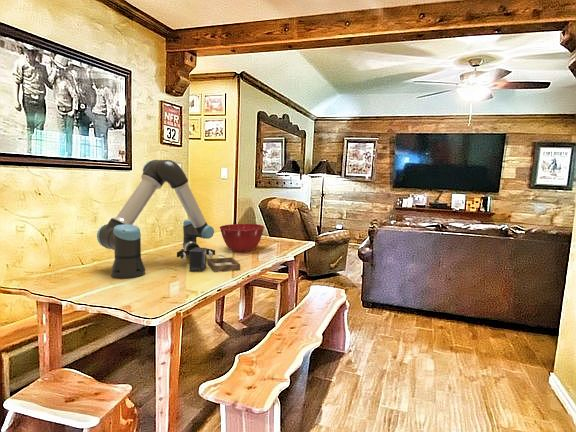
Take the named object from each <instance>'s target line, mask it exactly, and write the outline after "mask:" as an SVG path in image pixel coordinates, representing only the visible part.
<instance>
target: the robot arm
mask: <svg viewBox="0 0 576 432" xmlns="http://www.w3.org/2000/svg"><path fill="white" fill-rule="evenodd" d="M140 177H141V178H140V179H141V181H140V182H139V184H138V186H137V187H136V188H135V190H134V191H133V193H132V194H131V196H129V198H128V200H127V201H126V202H125V204H124V205H123V207H122V208H121V210H120V211H119V212H118V214H117V215H116V216H115V217H111V218H110V219H109V221H108V223H107V224H104V225H102V226H100V227H99V228H98V230H97V233H96V238H97V239H96V240H97V243H99V245H100V246H102V247H103V248H105V249H107V250H112V251H113V250H114V254H113V255H114V260H113V264H112V266H111V270H110V277H112V278H115V279H131V278H137V277H141V276H143V275H146V268H145V264H144V261H143V260H142V251H141V250H142V247H141V246H142V245H141V243H142V242H141V241H142V240H141V236H142V234H141V229H140V227H139V226H137V225H134V223H135V222H136V220H137V219H138V217H139V216H140V214H141V213H142V212H143V210H144V208H145V207H146V206H147V204H148V203H149V201H150V200H151V198H152V196H153V195H154V193H155V192H156V191H157V190H158V189H161V188H162V187H163V186H164V184H165V183H167V184H169V186H170V188H171V189H173V190H174V192H175V194H176V195H177V197H178V199H179V201H180V204H181V205H182V208H183V209H184V211H185V213H186V215H187V217H188V219H184V220H183V226H182V229H183V230H182V231H183V238H182V239H183V242H182V249H180V250H179V251H177V252H176V258H180V259H181V260H182V259H183V261H186V260H187V256H189V257H190V250H192V249H193V248H195V247H200V245H198V241H197V238H198V239H199V238H200V239H206V240H207V239H209V240H210V239H211V238H212V237H214V234H215V230H214V227H213V226H211V225H208V222H207V221H206V218H205V216H204V214H203V212H202V210H201V208H200V206H199V204H198V202H197V200H196V198H195V196H194V194H193V192H192V190H191V188H190V185H189V179H188V177H187V175H186V173H185V172H184V170H183V169H182V167H181V166H180V165H179V164H178V163H177V162H176V161H174V160H172V159H151V160H149V161H147V162H146V163H145V164H144V165H143V168H142V173H141V176H140ZM205 248H206V256H208V257H210V258H209V259H214V258H213V256H215V255H216V249H211V248H207V247H205Z"/></svg>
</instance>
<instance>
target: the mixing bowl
mask: <svg viewBox="0 0 576 432" xmlns="http://www.w3.org/2000/svg"><path fill="white" fill-rule="evenodd" d="M264 228H265V226H264V225H261V224H257V223H256V224H255V223H233V224H232V223H231V224H224V225H221V226H219V229H220V232H221V235H222V236H221V237H222V239H223V242H224V243H225V245H226V247H227V248H228V249H229V250H230V251H232V252H235V253H249V252H252V251H253V250H255V249H256V248H257V247H258V245H259V243H260V241H261V239H262V237H263V236H262V235H263V233H264Z"/></svg>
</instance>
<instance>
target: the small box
mask: <svg viewBox="0 0 576 432" xmlns="http://www.w3.org/2000/svg"><path fill="white" fill-rule="evenodd" d="M206 248H207V247H201V246H199V247H195V248H193V249H192V250H190V256H189V272H198V273H200V272H202V271H204V270H205V268H207V255H206Z"/></svg>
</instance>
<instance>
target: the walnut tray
mask: <svg viewBox="0 0 576 432" xmlns="http://www.w3.org/2000/svg"><path fill="white" fill-rule="evenodd" d="M207 265H208V267H209V268H210V269H211V270H212V272H214V273H219V272H218V271H222V272H231V271H230V270H235V271H241V264H240V263H239V262H238V261H237V260H236V259H235V258H234V257H232V256H230V257H217V258H207Z"/></svg>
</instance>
